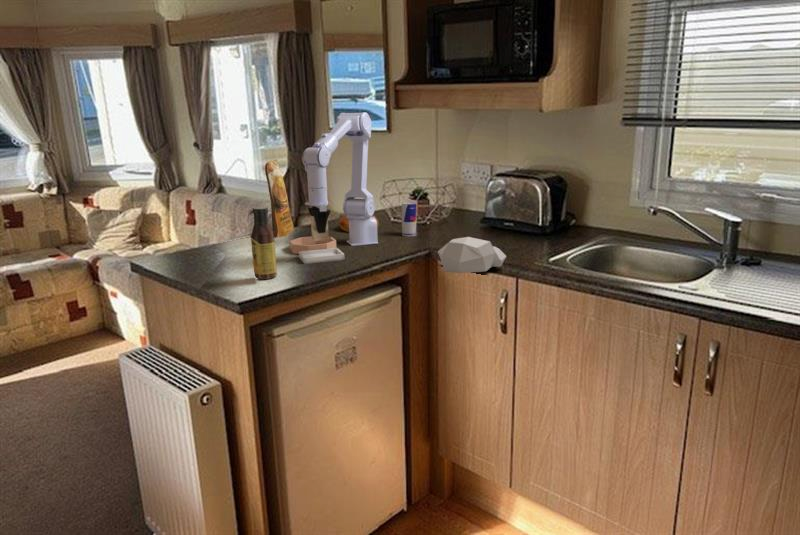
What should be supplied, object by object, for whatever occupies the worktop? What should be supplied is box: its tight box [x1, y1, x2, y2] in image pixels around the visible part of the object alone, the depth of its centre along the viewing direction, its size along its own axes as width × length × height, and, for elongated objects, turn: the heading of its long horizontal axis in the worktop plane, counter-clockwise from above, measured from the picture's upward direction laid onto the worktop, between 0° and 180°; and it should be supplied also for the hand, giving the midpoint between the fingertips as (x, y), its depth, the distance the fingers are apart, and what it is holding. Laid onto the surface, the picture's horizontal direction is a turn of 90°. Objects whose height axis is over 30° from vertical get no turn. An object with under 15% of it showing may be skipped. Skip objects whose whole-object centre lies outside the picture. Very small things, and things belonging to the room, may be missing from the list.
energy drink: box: [401, 201, 418, 238], centre depth 219 cm, size 5×5×12 cm
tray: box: [298, 247, 346, 265], centre depth 189 cm, size 13×10×2 cm
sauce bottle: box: [250, 205, 278, 280], centre depth 166 cm, size 6×6×20 cm
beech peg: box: [310, 215, 330, 241], centre depth 186 cm, size 4×4×7 cm
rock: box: [437, 236, 507, 274], centre depth 172 cm, size 18×20×10 cm
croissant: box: [337, 214, 380, 233], centre depth 230 cm, size 14×16×8 cm
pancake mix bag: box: [264, 159, 294, 239], centre depth 223 cm, size 7×19×28 cm, turn 172°
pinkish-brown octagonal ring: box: [289, 235, 338, 255], centre depth 201 cm, size 15×15×3 cm
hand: (320, 231), depth 187 cm, fingers closed on beech peg, 4 cm apart
